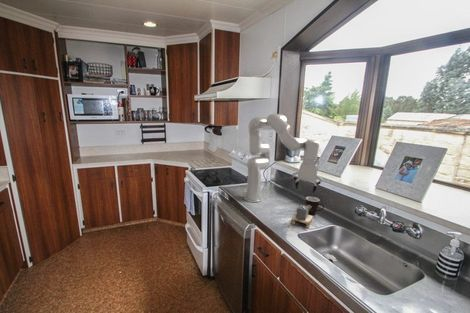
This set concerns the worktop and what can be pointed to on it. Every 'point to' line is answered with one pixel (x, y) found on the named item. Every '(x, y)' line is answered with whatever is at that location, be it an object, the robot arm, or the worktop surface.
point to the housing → (302, 212)
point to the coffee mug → (313, 205)
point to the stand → (307, 221)
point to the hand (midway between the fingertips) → (305, 190)
